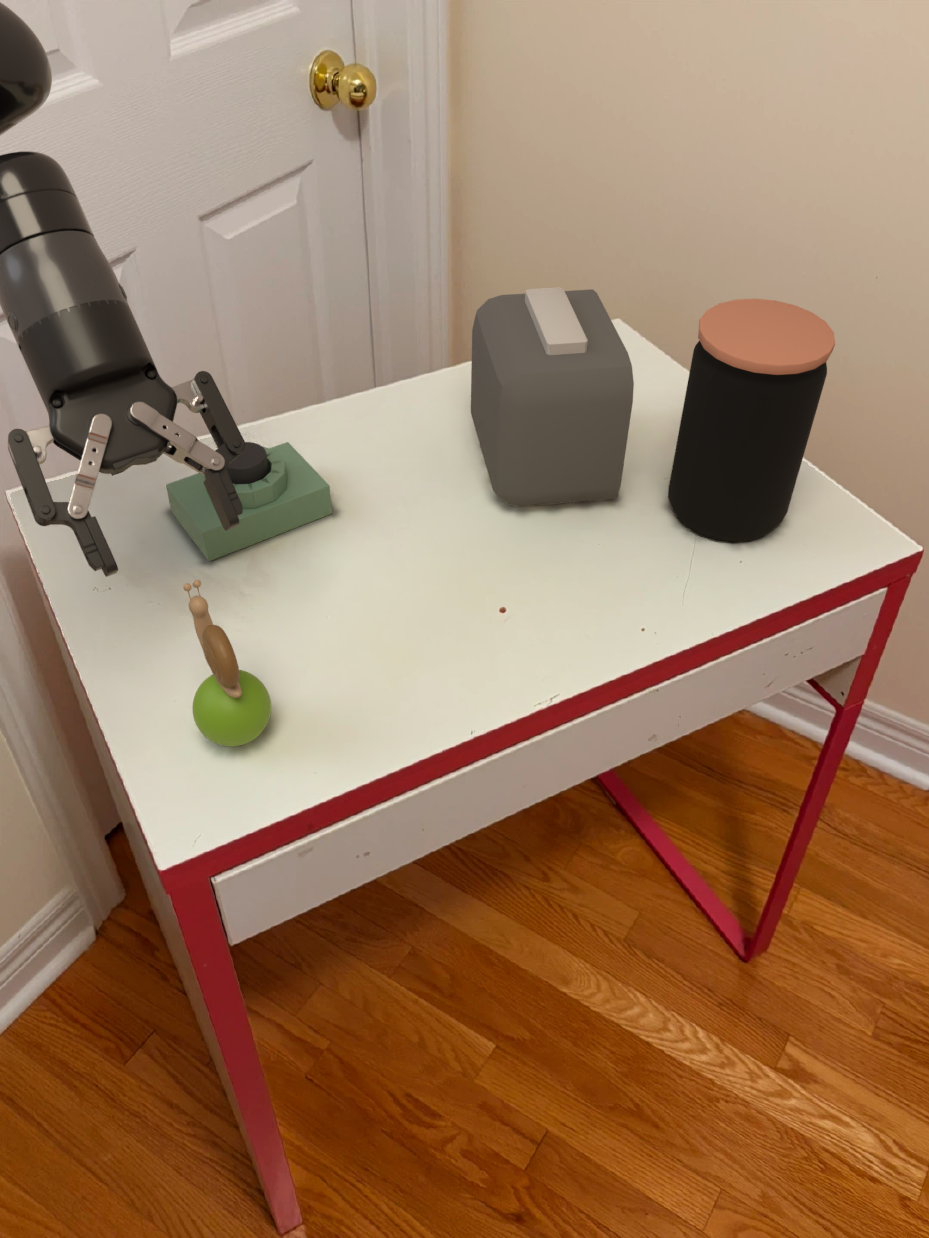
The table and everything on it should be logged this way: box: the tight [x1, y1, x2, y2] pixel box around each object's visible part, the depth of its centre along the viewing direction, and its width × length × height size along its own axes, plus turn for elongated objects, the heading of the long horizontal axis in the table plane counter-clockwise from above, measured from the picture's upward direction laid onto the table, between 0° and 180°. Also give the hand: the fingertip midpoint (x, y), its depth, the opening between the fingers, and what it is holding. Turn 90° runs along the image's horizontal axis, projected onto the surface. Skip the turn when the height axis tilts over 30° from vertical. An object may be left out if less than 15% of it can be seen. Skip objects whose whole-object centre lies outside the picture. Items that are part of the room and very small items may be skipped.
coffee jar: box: [667, 298, 836, 544], centre depth 89 cm, size 11×11×18 cm
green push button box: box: [165, 441, 333, 562], centre depth 92 cm, size 12×8×5 cm, turn 124°
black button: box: [228, 441, 269, 484], centre depth 90 cm, size 4×4×2 cm
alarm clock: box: [470, 286, 635, 508], centre depth 95 cm, size 16×11×16 cm
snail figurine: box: [183, 579, 272, 747], centre depth 72 cm, size 5×6×12 cm
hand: (173, 550), depth 70 cm, fingers open, 8 cm apart
